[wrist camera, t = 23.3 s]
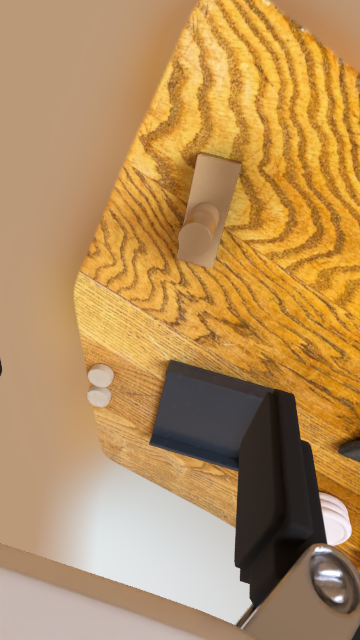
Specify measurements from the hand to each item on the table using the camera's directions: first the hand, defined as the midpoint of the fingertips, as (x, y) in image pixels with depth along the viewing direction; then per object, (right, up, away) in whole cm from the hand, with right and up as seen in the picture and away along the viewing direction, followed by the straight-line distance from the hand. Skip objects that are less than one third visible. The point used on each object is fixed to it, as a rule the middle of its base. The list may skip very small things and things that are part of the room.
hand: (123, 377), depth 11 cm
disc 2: (-9, -8, +35) cm, 37 cm away
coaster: (+23, -27, +40) cm, 53 cm away
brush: (+4, +12, +18) cm, 22 cm away
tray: (+6, -11, +33) cm, 35 cm away
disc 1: (-9, -5, +32) cm, 34 cm away
